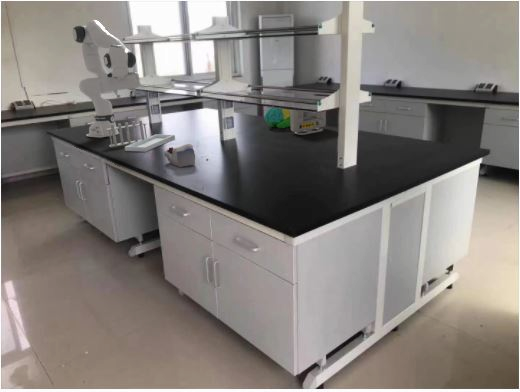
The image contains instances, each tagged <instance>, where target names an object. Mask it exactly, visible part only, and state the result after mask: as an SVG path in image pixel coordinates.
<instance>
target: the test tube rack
mask: <svg viewBox="0 0 520 392" xmlns="http://www.w3.org/2000/svg"><path fill="white" fill-rule="evenodd" d="M131 123H132V124H129V122H124V124H125V125H122V124H121V123H117V126H116V127H114V125H111V128H108V129H106V130H108V131H109V135H110V136H109V139H110V144H109V145H108V147H110V148H114V147H119V146H121V147H122V146H125V145H126V146H128V145H130V144H133V143H135V142H138V141H140V140H143V139H146V138H148V136H147V127H146V125H148V123H147V122H143V120H141V119H139V120H138V123H137V124H136V121H131ZM138 126H139V130H140V137H141V138H140V139H139V138H138V134H137V133H138V131H137V127H138ZM124 128H125V130H126V131H125V132H126V137H127V141H125V142H124V134H123V129H124ZM130 128H132V131H133V137H134V140H132V139H131V133H130ZM114 129H117V130H118V132H119V139H120V142H119V143H117V136H116V135H115V130H114ZM110 130H112V135H113V136H111V133H110ZM112 139H113V140H112Z"/></svg>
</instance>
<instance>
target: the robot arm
mask: <svg viewBox="0 0 520 392" xmlns="http://www.w3.org/2000/svg"><path fill="white" fill-rule="evenodd" d="M72 37H73V39H74V41H75V42H76V43H79V44H81V50H82V57H83V60H84V64H85V68H86V71H88V72H90V73H91V74H94V75H95V76H96V77H88V78H85V79H82V80H80V82H79V91H80V92H81V93H82V94H83V95H85V97H87V98H88V99H90V101H91V102H92V104H93V106H94V110H95V114H96V115H95V116H94V115H93V118H94V119H95V120H94V121H93V122H92V124H91V125H90V126H89V128H88V130H89V131H88V132H89V133H86V137H91V138H100V139H101V138H105V137H110V135H109V131H108V130H106V129H108V128H111V125H114V127H117V124H116V121H115V119H116V118H115V113H114V111H113V105H112V102H111V101H110V100H108V99H107V98H102V96H101V95H104V94H112V93H114V94H115V95H116V99H120V98H121V94H119V93H118V91H120V90H130V89H131V91H132V92H131V93H130V96H131V97H135V96H136V95H135V94H136V91H137V89H138V88H141V85H142V84H141V81H140V75H139V73H138V72H137V71H132V72H130V71H129V69H132V68H133V67H134V66H135V64H136V63H137V58H136V56H135V54H134V53H133V51H131V50H130V49H128V48H127V47H126V46H125V44H124V43H123V42H122V41H121V40H120V39H119V38H118V37H116V36H115V35H112V34H111V33H110V32H108V29H107V28H106V27H105V26H104V25H103V24H102V23H101V22H100V21H98V20H96V19H91V20H89V21H88V22H87V23H86V25H76V26H74V27H73V28H72ZM100 48H103V49H108V51H107V52H106V53H105V54H104V55H103V59H102V55H101V52H100V50H99V49H100ZM106 67H107V69H110V70H111V69H112V71H111V72H108V71H107V69H106ZM114 130H115V136H116V135H120V133H119V129H114ZM110 133H111V137H113V135H112V130H110Z"/></svg>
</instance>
